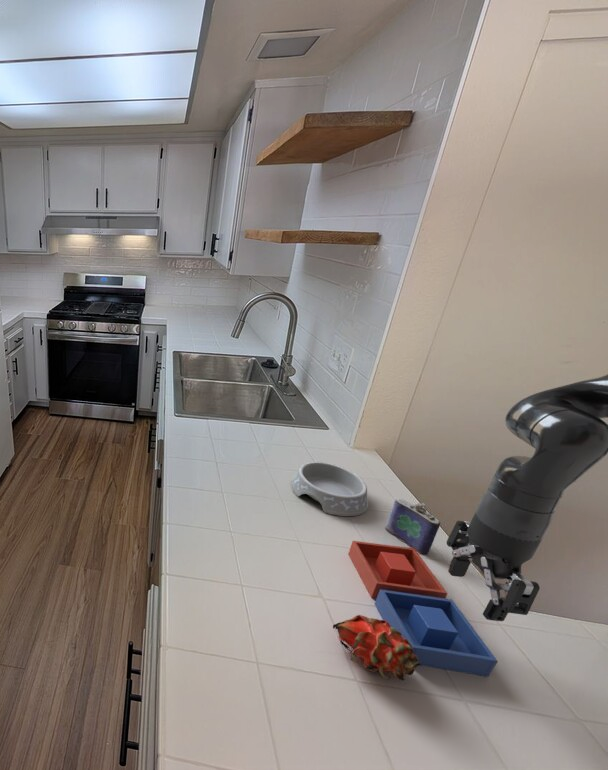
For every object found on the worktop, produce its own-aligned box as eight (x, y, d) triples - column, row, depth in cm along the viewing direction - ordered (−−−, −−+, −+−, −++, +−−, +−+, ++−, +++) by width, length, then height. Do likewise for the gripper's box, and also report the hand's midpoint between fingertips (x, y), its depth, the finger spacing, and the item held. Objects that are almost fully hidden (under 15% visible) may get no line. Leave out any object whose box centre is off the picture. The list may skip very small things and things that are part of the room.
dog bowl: (312, 467, 117) (316, 452, 115) (379, 501, 103) (385, 484, 101) (278, 486, 109) (282, 471, 107) (346, 526, 95) (351, 508, 92)
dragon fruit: (415, 695, 62) (330, 655, 70) (420, 639, 65) (338, 606, 73) (421, 693, 56) (327, 649, 64) (426, 631, 60) (336, 597, 67)
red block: (397, 570, 82) (404, 554, 80) (409, 588, 78) (416, 572, 76) (374, 567, 83) (380, 551, 81) (384, 584, 79) (391, 568, 77)
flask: (382, 528, 94) (395, 493, 90) (390, 525, 95) (404, 490, 91) (423, 556, 86) (440, 519, 82) (431, 553, 87) (448, 515, 83)
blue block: (433, 625, 71) (441, 608, 69) (449, 650, 67) (458, 632, 65) (406, 621, 71) (413, 604, 70) (420, 645, 67) (428, 628, 66)
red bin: (408, 561, 85) (414, 548, 83) (440, 608, 74) (447, 593, 73) (348, 554, 87) (352, 540, 85) (371, 597, 76) (376, 583, 75)
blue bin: (444, 614, 73) (452, 599, 72) (488, 676, 63) (498, 661, 62) (374, 603, 75) (379, 589, 74) (405, 662, 65) (412, 647, 64)
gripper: (582, 560, 52) (533, 639, 59) (501, 494, 65) (468, 564, 72) (518, 553, 54) (476, 631, 60) (451, 490, 67) (422, 559, 73)
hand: (472, 595), depth 66 cm, fingers open, 8 cm apart
